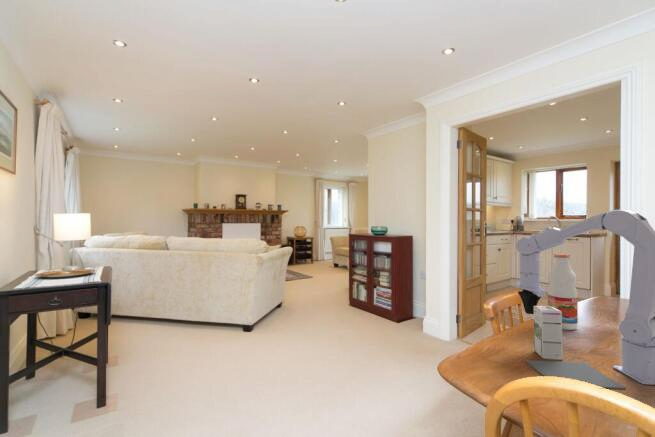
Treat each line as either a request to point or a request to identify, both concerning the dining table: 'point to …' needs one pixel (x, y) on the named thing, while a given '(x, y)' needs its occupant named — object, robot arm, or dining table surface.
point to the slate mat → (574, 372)
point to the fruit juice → (563, 291)
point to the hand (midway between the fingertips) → (529, 313)
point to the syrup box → (548, 332)
